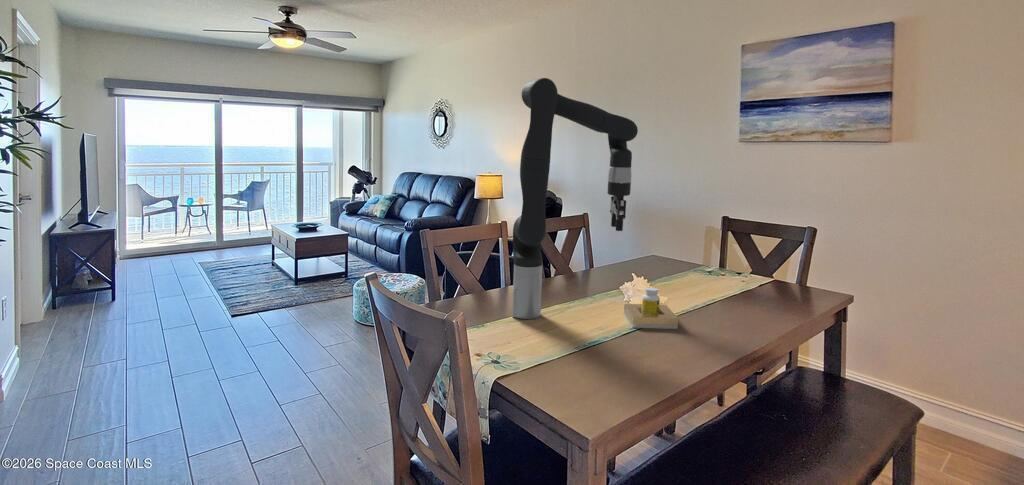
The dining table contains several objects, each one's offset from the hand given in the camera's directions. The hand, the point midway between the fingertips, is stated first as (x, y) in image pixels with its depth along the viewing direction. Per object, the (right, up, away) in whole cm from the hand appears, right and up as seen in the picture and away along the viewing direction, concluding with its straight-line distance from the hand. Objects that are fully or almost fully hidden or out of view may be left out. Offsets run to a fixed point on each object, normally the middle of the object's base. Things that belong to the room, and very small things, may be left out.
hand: (616, 228), depth 185 cm
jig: (+9, -30, -8) cm, 33 cm away
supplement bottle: (+9, -29, -8) cm, 32 cm away
